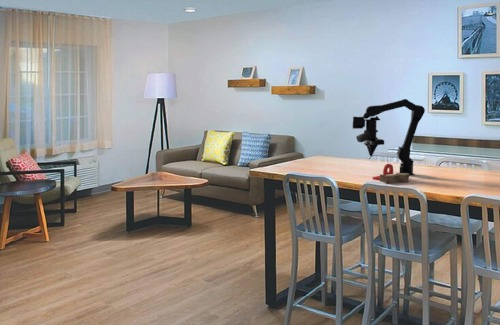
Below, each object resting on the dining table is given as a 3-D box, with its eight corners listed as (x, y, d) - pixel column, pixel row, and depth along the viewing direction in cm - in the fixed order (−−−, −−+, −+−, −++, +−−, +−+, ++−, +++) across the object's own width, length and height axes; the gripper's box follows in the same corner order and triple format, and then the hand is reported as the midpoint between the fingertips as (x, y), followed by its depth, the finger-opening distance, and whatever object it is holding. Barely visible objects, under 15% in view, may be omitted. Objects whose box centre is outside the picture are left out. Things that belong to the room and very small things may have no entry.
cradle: (399, 179, 262) (399, 170, 261) (408, 182, 254) (409, 173, 253) (378, 181, 258) (378, 172, 257) (387, 184, 250) (387, 175, 249)
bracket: (386, 176, 271) (387, 162, 270) (393, 177, 267) (393, 163, 266) (371, 179, 264) (371, 164, 263) (378, 180, 261) (378, 165, 260)
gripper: (350, 127, 280) (350, 154, 283) (367, 130, 263) (366, 159, 265) (367, 127, 283) (367, 153, 286) (385, 129, 266) (384, 157, 268)
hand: (370, 155), depth 276 cm, fingers closed
